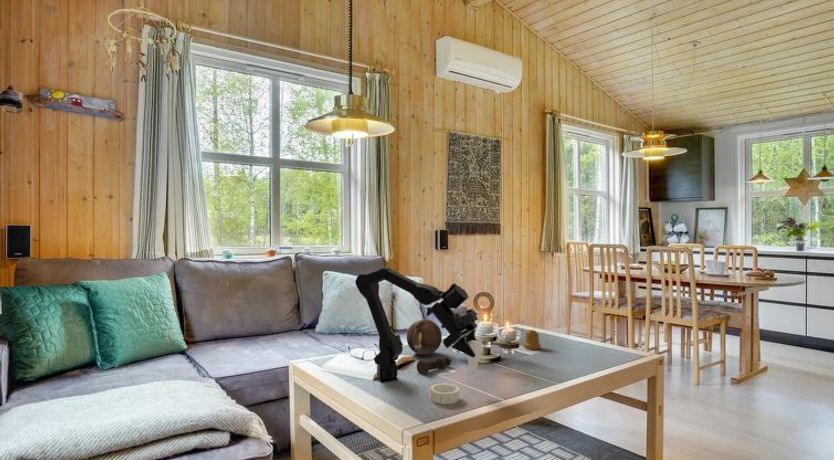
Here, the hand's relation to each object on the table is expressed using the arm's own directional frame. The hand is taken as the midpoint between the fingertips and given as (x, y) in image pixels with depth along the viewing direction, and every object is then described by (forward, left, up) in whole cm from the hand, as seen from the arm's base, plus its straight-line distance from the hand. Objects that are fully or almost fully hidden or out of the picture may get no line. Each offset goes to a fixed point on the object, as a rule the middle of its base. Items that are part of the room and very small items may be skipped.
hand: (477, 354), depth 160 cm
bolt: (-1, +28, -14) cm, 31 cm away
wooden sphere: (+4, +49, -13) cm, 51 cm away
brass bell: (+53, +39, -13) cm, 67 cm away
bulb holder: (-12, 0, -13) cm, 18 cm away
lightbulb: (-1, +1, -7) cm, 7 cm away
